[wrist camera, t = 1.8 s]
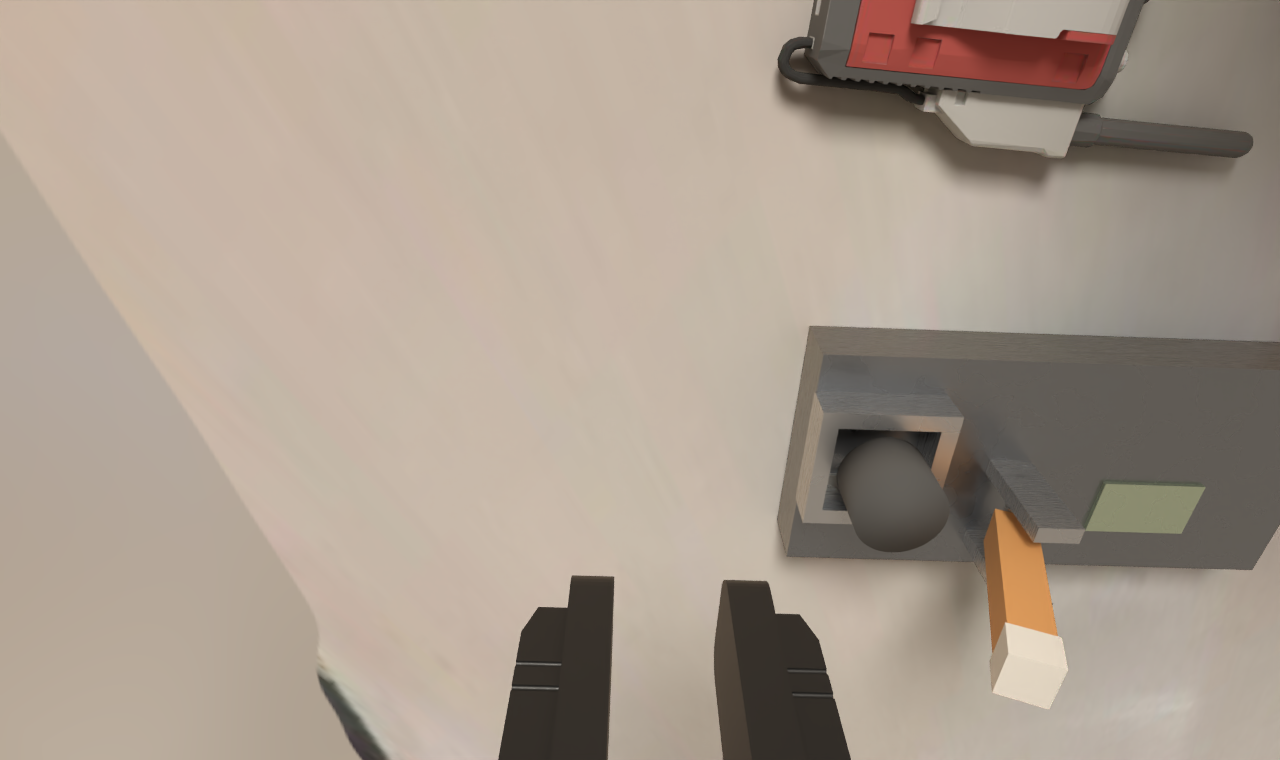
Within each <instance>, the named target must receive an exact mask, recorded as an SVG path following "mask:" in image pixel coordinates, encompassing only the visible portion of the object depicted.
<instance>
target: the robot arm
mask: <svg viewBox="0 0 1280 760" xmlns="http://www.w3.org/2000/svg"><path fill="white" fill-rule="evenodd" d="M613 603H614V577H607V576H572V578H571V584H570V593H569V602H568V608H554V607H538V609H537V610H536V611H535V613H534V614H533V616H532V617H531V619H530V620H529V621H528V623H527V624H526V626H525V627H524V629H523V630H522V632H521V637H520V642H519V648H518V653H517V659H516V666H515V670H514V675H513V681H512V690H511V692H510V698H509V703H508V709H507V714H506V720H505V725H504V731H503V736H502V742H501V748H500V753H499V759H498V760H608V741H609V717H610V692H611V667H612V638H613ZM714 675H715V686H716V695H717V705H718V714H719V724H720V733H721V742H722V752H723V760H851V758H850V754H849V751H848V747H847V743H846V740H845V736H844V732H843V728H842V725H841V721H840V717H839V713H838V710H837V706H836V702H835V699H833V691H832V687H831V684H830V680H829V676H828V675H827V673H826V665H825V661H824V658H823V654H822V650H821V647H820V643H819V640H818V638H817V637H816V636H815V634H814V633H813V632H812V630H811V629H810V628H809V626H808V625H807V624H806V622H805V621H804V620H803V618H802V617H801V616H800V614H775V610H774V605H773V600H772V595H771V591H770V587H769V584H768V582H767V581H741V580H724V581H723V584H722V589H721V597H720V605H719V613H718V620H717V628H716V636H715V646H714Z"/></svg>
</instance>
